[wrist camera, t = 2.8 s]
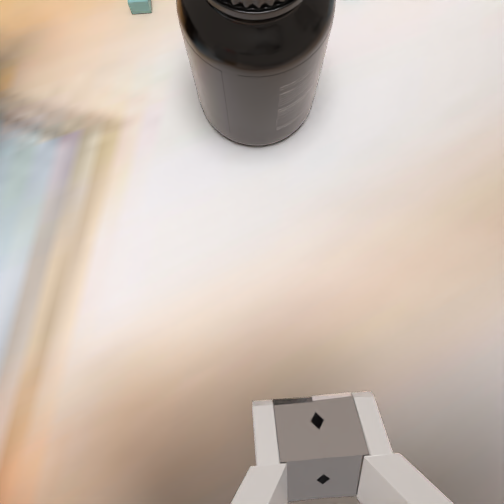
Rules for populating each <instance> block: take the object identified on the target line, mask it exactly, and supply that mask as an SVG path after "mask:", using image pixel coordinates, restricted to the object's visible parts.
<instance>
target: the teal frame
mask: <svg viewBox="0 0 504 504" xmlns="http://www.w3.org/2000/svg"><path fill="white" fill-rule="evenodd" d="M128 5H129V7H130V10H131V12H132V14H140V13H151V0H128Z"/></svg>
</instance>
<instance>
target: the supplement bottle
mask: <svg viewBox="0 0 504 504" xmlns="http://www.w3.org/2000/svg"><path fill="white" fill-rule="evenodd" d="M335 2H336V0H176V5H177V13H178V18H179V24H180V28H181V31H182V35H183V39H184V43H185V47H186V50H187V54H188V58H189V62H190V65H191V69H192V73H193V77H194V81H195V84H196V88H197V92H198V96H199V99H200V102H201V105H202V109H203V111H204V113H205V115H206V117H207V119H208V120H209V122H210V123H211V125H212V126H213V127H214V128H215V129H216V130H217V131H218V132H219V133H221V134H222V135H223V136H225V137H227V138H228V139H230V140H232V141H235V142H237V143H241V144H245V145H253V146H260V145H268V144H272V143H275V142H278V141H281V140H283V139H284V138H286V137H288V136H289V135H291V134H292V133H293V132H295V131H296V130H297V129H298V128H299V127H300V126H301V125H302V123H303V122H304V120H305V119H306V117H307V115H308V114H309V111H310V109H311V106H312V103H313V99H314V96H315V92H316V88H317V84H318V80H319V76H320V72H321V68H322V64H323V59H324V55H325V51H326V47H327V43H328V39H329V35H330V31H331V27H332V23H333V18H334V12H335Z"/></svg>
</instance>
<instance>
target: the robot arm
mask: <svg viewBox="0 0 504 504" xmlns="http://www.w3.org/2000/svg"><path fill="white" fill-rule="evenodd" d="M252 414H253V428H254V442H255V456H256V466H250V468H249V470H248V471H247V473H246V475H245V477H244V479H243V481H242V483H241V485H240V487H239V488H238V490H237V492H236V494H235V496H234V498H233V500H232V502H231V504H288V502H294V501H303V500H311V499H319V498H333V497H349V496H357V499H358V500H359V502H360V503H361V504H454V503H453V502H452V501H451V500H450V499H448V498H447V497H446V496H445V495H444V494H443V493H442V492H441V491H440V490H439V489H438V488H437V487H436V486H435V485H433V484H432V483H431V482H430V481H429V480H428V479H427V478H426V477H425V476H424V475H423V474H422V473H421V472H420V471H419V470H417V469H416V468H415V467H414V466H413V465H412V464H411V463H410V462H409V461H408V460H407V459H406V458H405V457H404V456H403V455H401V454H400V453H393V450H392V447H391V444H390V441H389V438H388V435H387V432H386V429H385V426H384V423H383V420H382V418H381V415H380V412H379V409H378V406H377V403H376V400H375V397H374V394H373V393H372V392H371V391H361V392H351V393H350V392H345V393H335V394H326V395H316V396H311V397H298V398H285V399H273V400H272V399H269V400H258V401H252Z"/></svg>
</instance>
